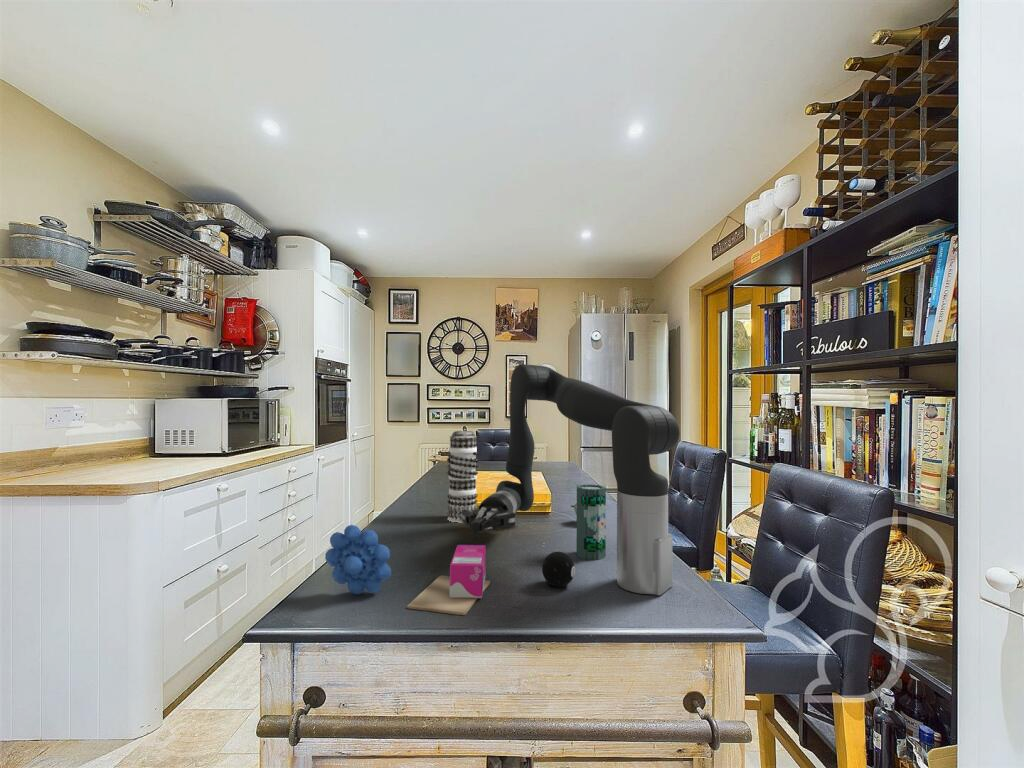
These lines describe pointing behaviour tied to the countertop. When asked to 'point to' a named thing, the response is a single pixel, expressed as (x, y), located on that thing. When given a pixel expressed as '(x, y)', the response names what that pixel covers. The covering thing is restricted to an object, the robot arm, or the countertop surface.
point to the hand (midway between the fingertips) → (476, 528)
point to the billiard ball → (558, 569)
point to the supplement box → (468, 571)
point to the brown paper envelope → (442, 598)
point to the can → (591, 522)
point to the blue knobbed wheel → (358, 560)
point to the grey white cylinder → (462, 474)
